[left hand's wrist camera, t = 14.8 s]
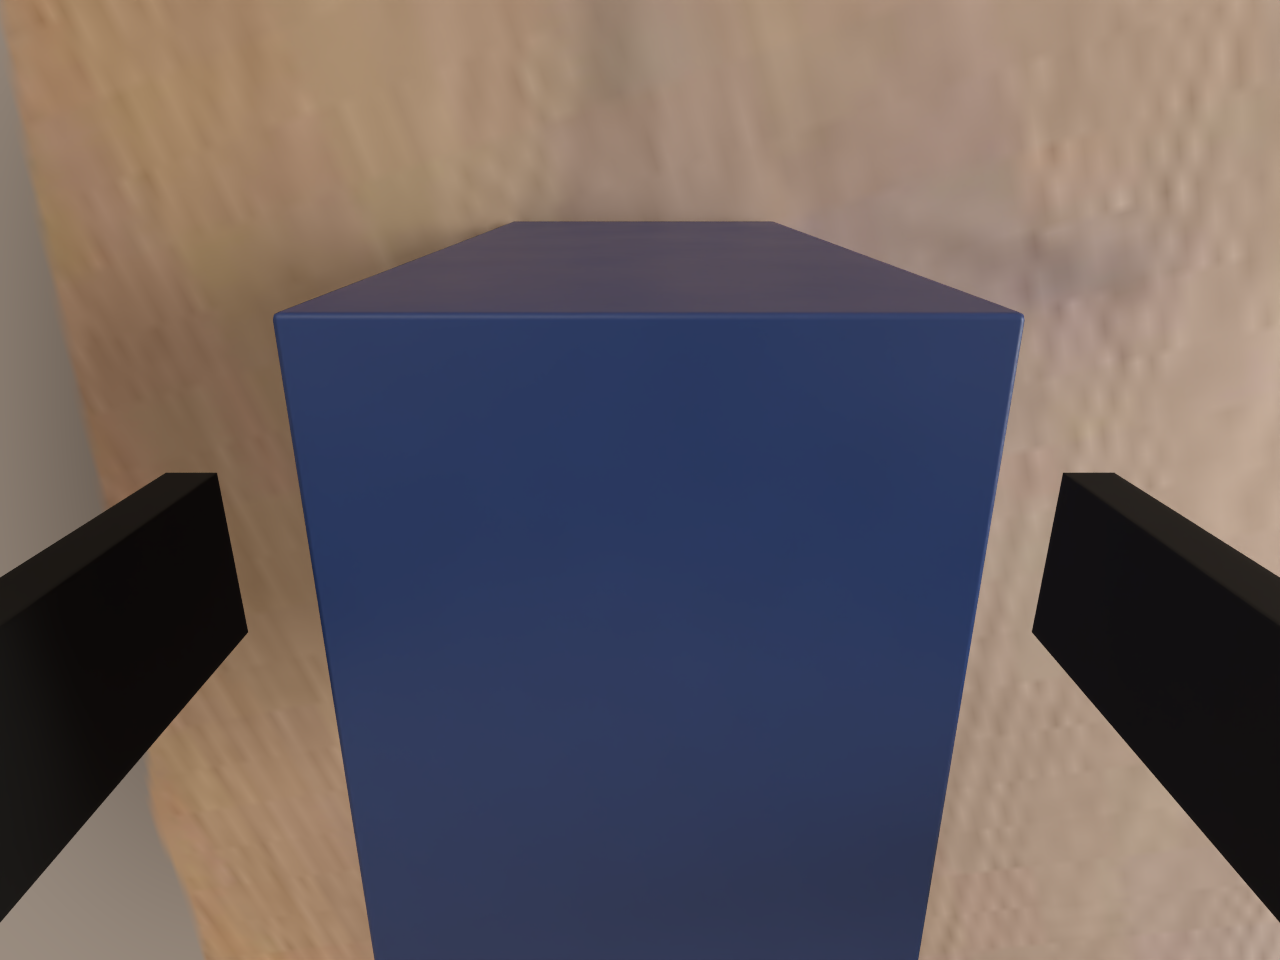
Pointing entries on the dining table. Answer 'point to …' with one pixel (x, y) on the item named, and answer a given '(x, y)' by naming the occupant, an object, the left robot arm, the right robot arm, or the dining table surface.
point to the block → (647, 585)
